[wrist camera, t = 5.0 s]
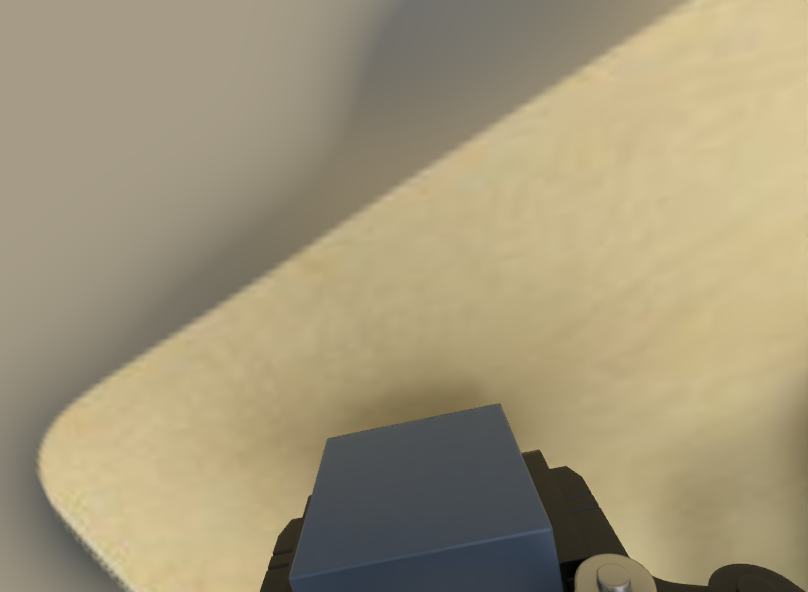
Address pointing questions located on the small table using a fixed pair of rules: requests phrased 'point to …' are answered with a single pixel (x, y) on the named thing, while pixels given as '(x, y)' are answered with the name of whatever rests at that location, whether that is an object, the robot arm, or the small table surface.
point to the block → (427, 512)
